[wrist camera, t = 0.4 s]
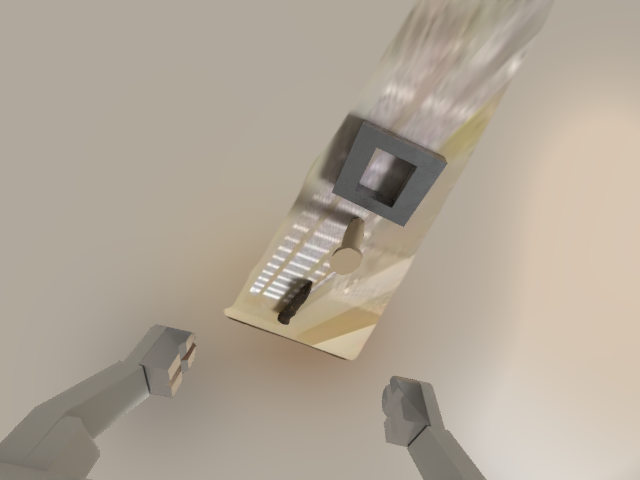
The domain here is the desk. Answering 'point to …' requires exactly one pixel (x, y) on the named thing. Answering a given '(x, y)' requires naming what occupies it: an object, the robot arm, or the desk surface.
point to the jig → (411, 189)
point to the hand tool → (294, 304)
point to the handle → (349, 249)
